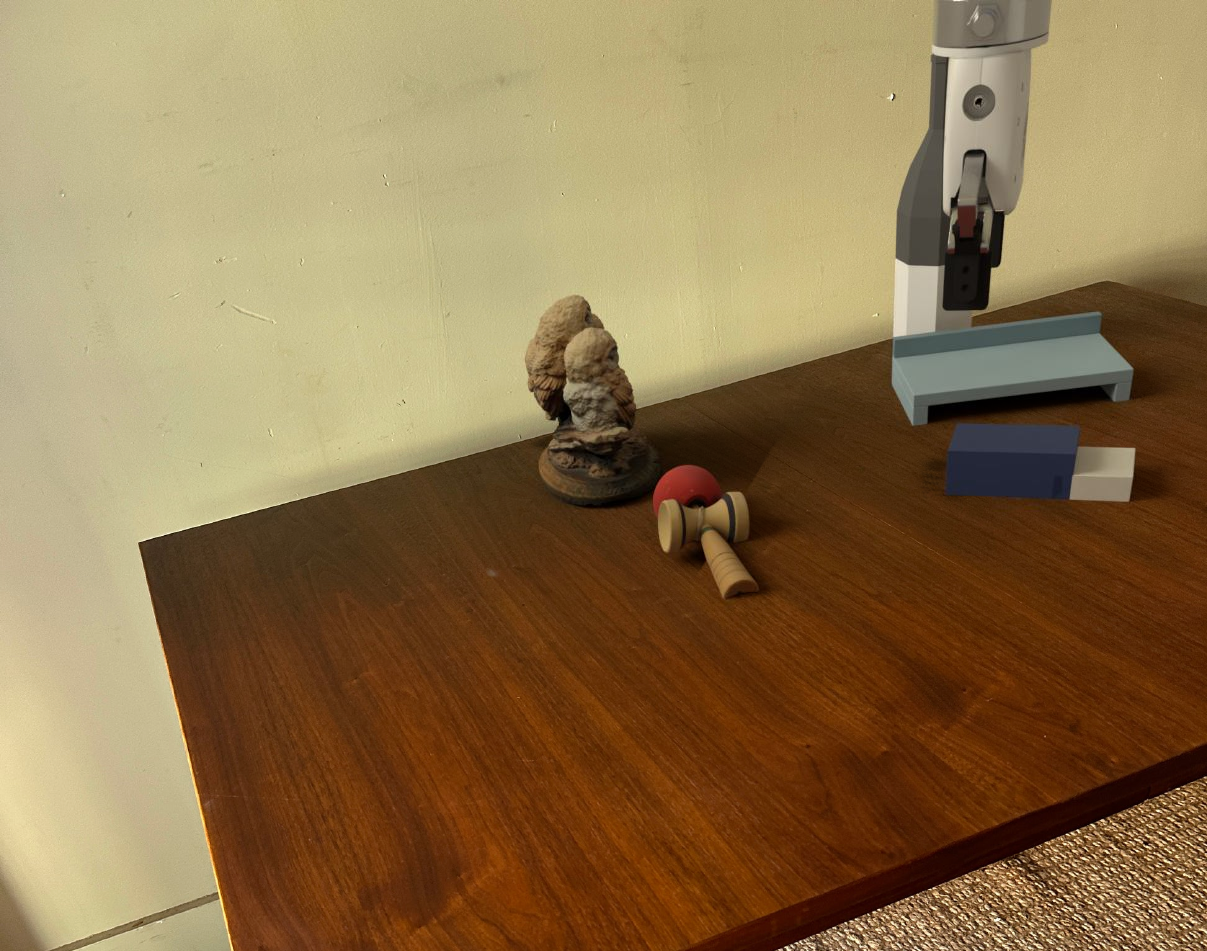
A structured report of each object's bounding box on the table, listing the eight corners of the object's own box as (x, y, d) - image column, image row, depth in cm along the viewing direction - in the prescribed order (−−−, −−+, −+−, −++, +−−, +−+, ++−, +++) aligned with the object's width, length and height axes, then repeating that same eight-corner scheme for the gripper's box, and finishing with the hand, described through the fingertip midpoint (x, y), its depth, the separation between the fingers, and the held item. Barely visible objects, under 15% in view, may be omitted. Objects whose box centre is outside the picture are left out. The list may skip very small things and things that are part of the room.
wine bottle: (934, 378, 125) (951, 44, 107) (876, 362, 131) (883, 42, 112) (985, 354, 129) (1010, 27, 110) (927, 340, 134) (942, 25, 115)
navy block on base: (1128, 488, 102) (1139, 425, 98) (1126, 520, 97) (1136, 456, 94) (936, 481, 107) (939, 421, 104) (925, 511, 103) (928, 450, 100)
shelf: (1090, 374, 121) (1099, 310, 117) (1126, 416, 113) (1137, 348, 109) (891, 398, 123) (892, 336, 119) (911, 441, 114) (914, 375, 110)
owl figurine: (685, 496, 111) (669, 307, 100) (563, 524, 110) (533, 336, 99) (634, 429, 125) (614, 257, 114) (525, 453, 124) (495, 281, 113)
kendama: (797, 610, 95) (726, 494, 108) (785, 549, 91) (712, 434, 103) (707, 646, 96) (646, 525, 108) (690, 586, 91) (628, 467, 103)
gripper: (1041, 39, 72) (1014, 326, 83) (1058, -5, 85) (1033, 251, 95) (915, 50, 75) (905, 327, 86) (949, 6, 87) (936, 254, 98)
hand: (972, 287), depth 91 cm, fingers open, 9 cm apart
